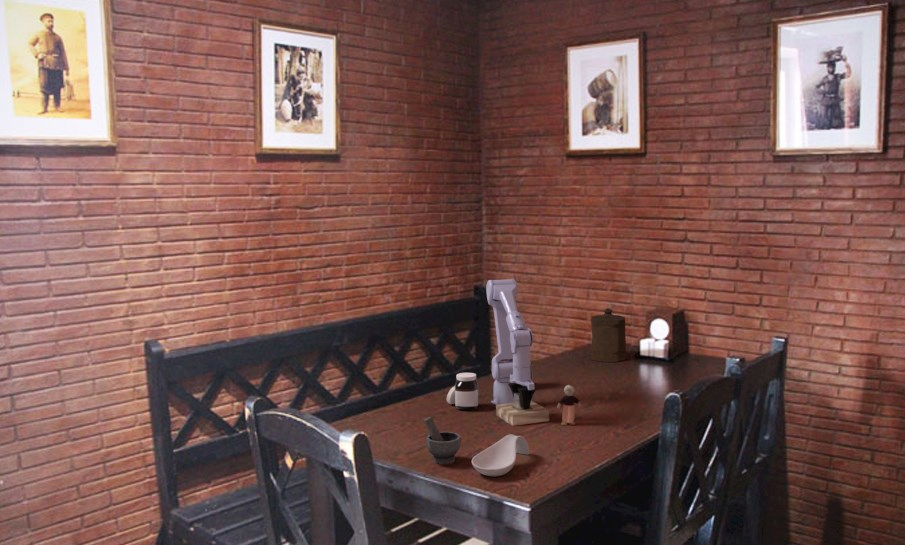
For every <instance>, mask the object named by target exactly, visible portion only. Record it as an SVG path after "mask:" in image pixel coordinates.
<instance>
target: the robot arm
mask: <svg viewBox="0 0 905 545" xmlns="http://www.w3.org/2000/svg"><path fill="white" fill-rule="evenodd" d="M485 291H486V292H485V293H486V298H487V303H488V305H490V306H492V309H493V315H494V316H493V318H494V324H495V333H496V341H497V348H498V349H497V350H498V352H497V353H496V354H495V355H494V356H493V357H492V360H491V374H492V378H493V380H494V382H493V384H492V386H493V387H492V388H493V400H491V401H490V402H491V403H492V404H494V406H496V405H501V404H508V403H514V393H520V396H521V401H522V408H523V409H529V408H530V403H531V401H532V399H533V396H534V394H535V392H536V390H537V388H536V387H535V383H534V382H533V379H532V380H531V374H530V364H531V347H532V346H533V345H534V344H533V343H534V342H533V341H534V337H533V336H534V335H533V331H532V330H531V328H529V326H527V325H526V321H525V318H524V315H523V313H522V312H520V311H519V310H518V307H517V302H516V297H517V293H518V283H517V281H516V279H515V278H507V279H489V280H488V281H487V282H486V289H485ZM509 360H511V361H509Z"/></svg>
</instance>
